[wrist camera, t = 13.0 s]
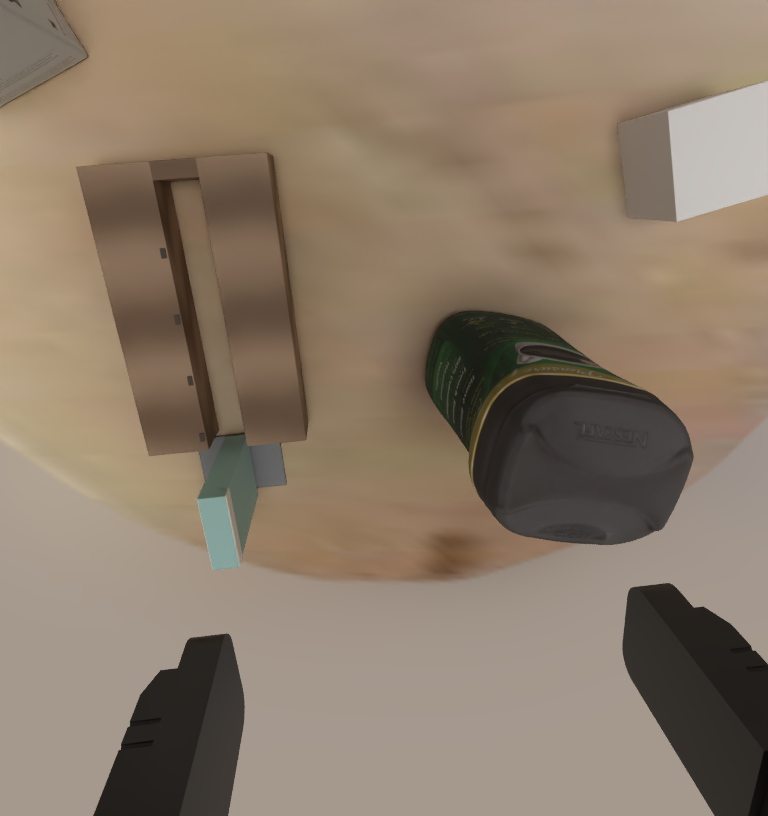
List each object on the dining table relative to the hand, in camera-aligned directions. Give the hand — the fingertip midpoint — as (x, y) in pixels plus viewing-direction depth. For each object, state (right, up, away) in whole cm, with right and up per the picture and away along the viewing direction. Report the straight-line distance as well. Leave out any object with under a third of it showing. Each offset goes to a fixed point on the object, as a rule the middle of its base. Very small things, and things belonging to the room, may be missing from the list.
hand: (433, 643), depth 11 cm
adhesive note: (+18, +21, +26) cm, 38 cm away
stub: (-12, +1, +31) cm, 33 cm away
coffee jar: (+7, +8, +30) cm, 32 cm away
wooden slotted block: (-13, +12, +27) cm, 32 cm away
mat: (-12, +1, +31) cm, 33 cm away
